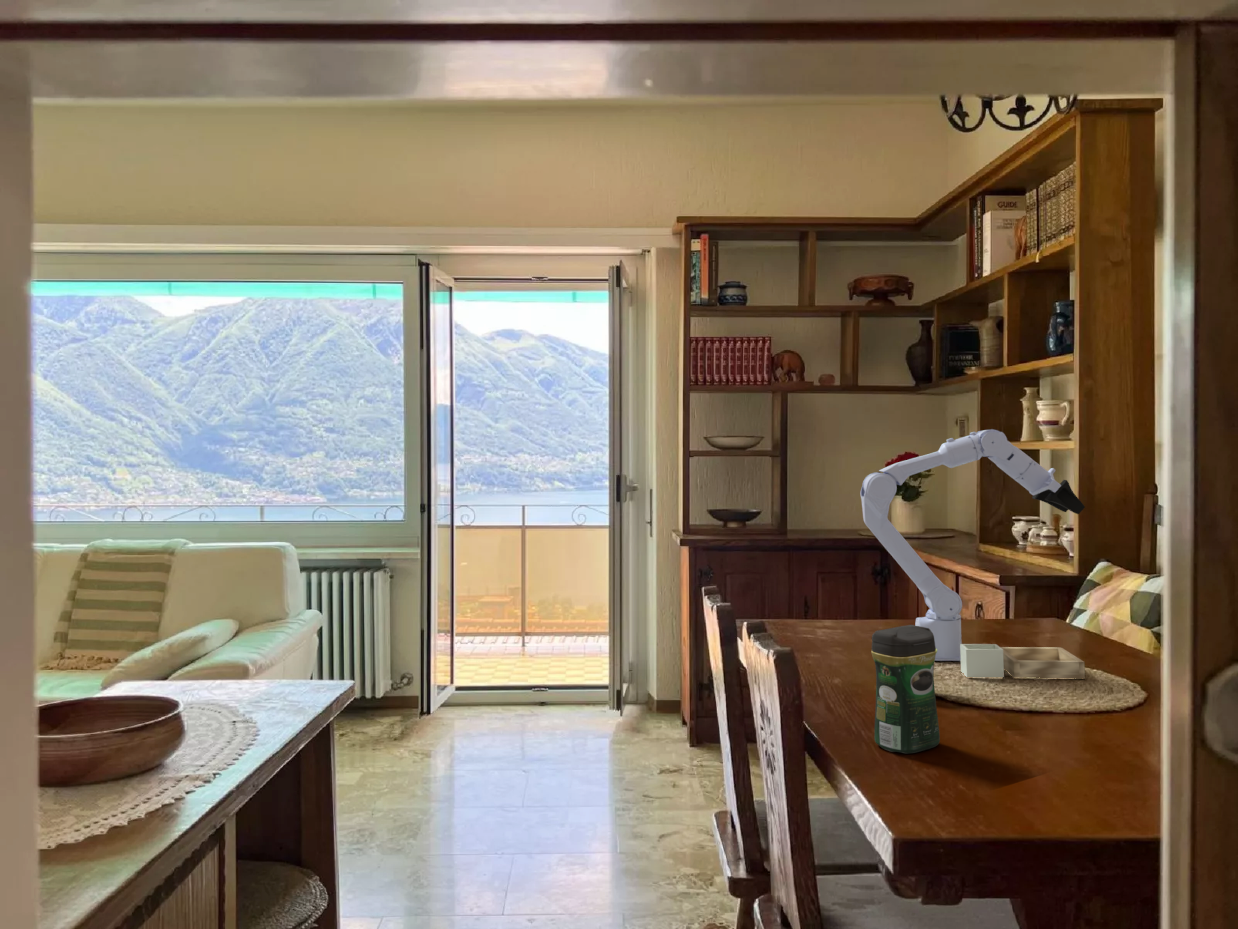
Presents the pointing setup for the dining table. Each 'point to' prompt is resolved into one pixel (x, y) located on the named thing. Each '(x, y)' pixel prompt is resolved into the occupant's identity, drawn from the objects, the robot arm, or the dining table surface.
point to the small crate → (982, 660)
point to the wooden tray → (1042, 662)
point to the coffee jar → (905, 689)
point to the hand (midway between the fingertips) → (1074, 509)
